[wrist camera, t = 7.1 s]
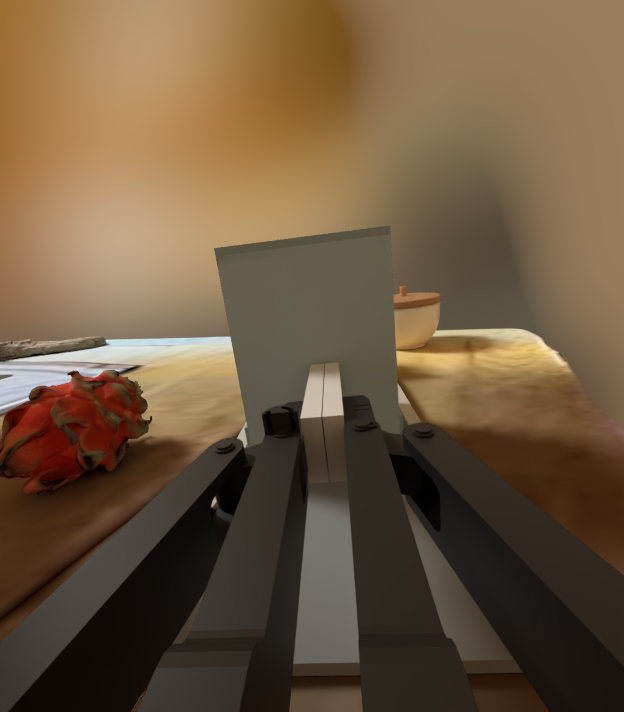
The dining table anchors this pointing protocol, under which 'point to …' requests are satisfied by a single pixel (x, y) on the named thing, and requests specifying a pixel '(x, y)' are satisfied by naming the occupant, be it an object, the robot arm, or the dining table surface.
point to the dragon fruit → (71, 430)
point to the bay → (338, 599)
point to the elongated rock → (46, 347)
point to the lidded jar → (415, 318)
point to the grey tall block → (312, 320)
